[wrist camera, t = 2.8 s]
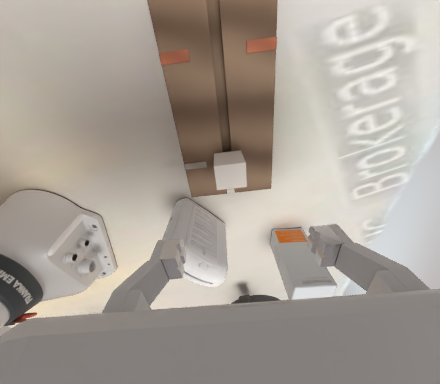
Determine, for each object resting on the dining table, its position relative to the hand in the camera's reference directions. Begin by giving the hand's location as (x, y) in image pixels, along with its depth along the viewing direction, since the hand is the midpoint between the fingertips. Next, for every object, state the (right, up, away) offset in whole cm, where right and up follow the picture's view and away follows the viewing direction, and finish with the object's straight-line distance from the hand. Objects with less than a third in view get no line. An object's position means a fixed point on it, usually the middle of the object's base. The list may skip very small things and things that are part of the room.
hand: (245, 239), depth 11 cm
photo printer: (-5, -1, +21) cm, 22 cm away
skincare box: (+11, -6, +24) cm, 27 cm away
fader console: (-1, +14, +12) cm, 19 cm away
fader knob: (-1, +8, +14) cm, 16 cm away
